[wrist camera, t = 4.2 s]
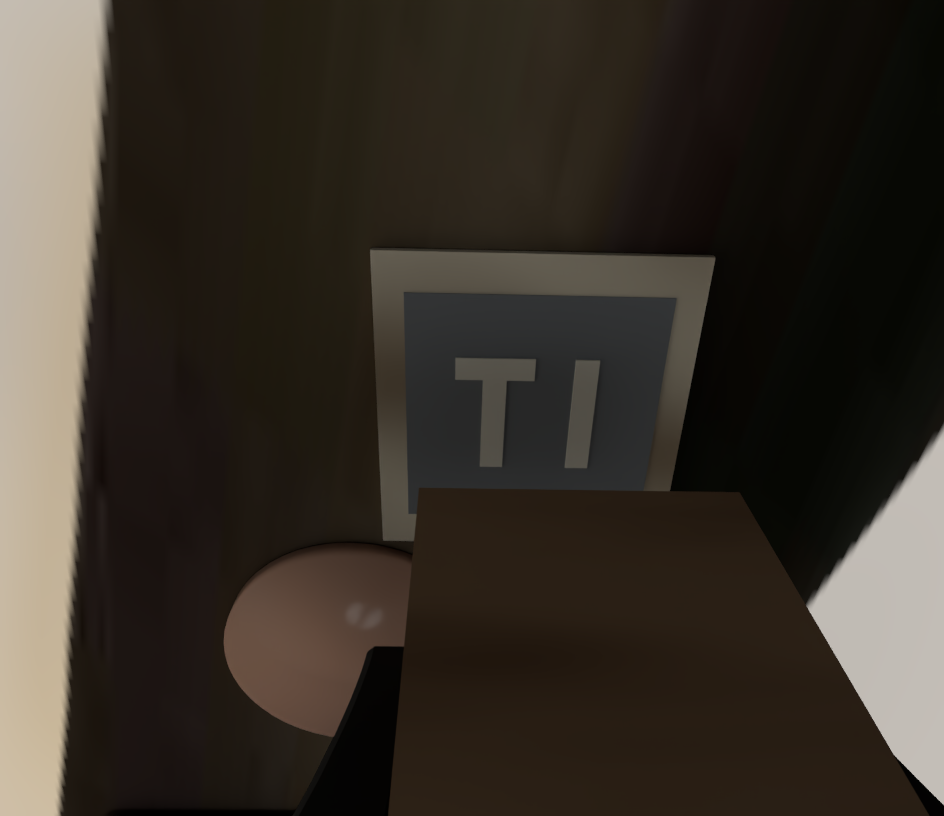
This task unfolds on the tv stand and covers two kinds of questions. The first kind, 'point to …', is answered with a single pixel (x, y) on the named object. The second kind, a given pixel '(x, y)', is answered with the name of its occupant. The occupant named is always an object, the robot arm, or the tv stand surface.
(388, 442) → the board
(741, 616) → the walnut block
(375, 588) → the coaster
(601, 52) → the tv stand surface
